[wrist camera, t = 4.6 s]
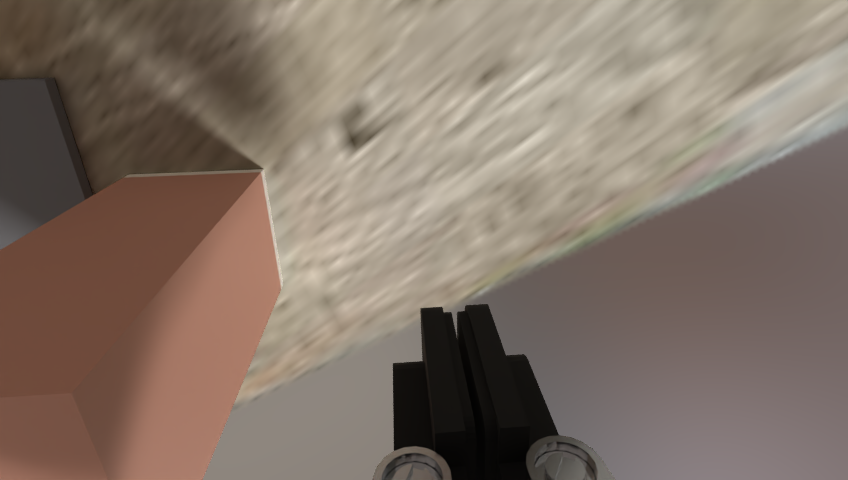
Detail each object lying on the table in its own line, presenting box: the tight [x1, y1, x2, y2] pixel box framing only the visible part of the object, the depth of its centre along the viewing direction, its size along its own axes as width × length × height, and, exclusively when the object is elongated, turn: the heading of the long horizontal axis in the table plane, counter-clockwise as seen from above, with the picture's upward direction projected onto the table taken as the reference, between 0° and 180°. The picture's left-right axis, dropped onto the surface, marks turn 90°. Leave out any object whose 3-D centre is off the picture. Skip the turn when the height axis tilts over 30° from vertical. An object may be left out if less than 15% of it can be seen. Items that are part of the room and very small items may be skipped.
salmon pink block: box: [0, 169, 283, 480], centre depth 14 cm, size 5×5×12 cm
